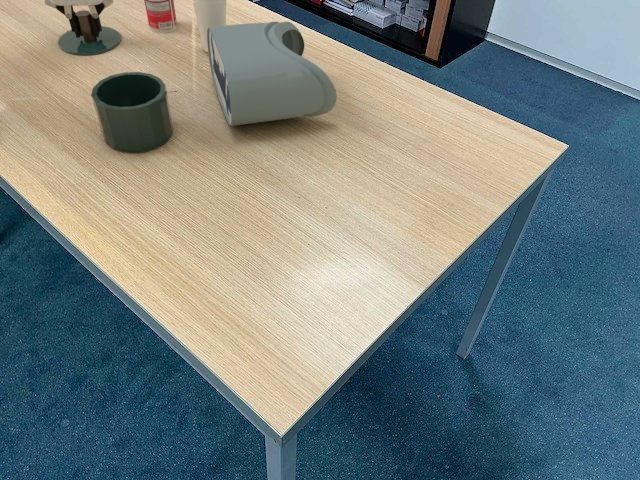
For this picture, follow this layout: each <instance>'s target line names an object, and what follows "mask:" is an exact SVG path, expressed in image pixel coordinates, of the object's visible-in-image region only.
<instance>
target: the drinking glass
mask: <svg viewBox="0 0 640 480" xmlns="http://www.w3.org/2000/svg"><path fill="white" fill-rule="evenodd" d="M192 2H193V8H194V13H195V17H196V23H197V27H198V33H199V38H200V46H201V49H202V50H203V52H205V53H207V54H209V53H208V42H207V29H208V27H215V26H226V25H227V0H192Z"/></svg>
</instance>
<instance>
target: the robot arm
mask: <svg viewBox="0 0 640 480" xmlns="http://www.w3.org/2000/svg"><path fill="white" fill-rule="evenodd" d="M44 4H45V5H46V6H49V7H50V8H53V9H56V10H57V11H58V12H60V13H61V14H62V15H64V16H65V18H66V19H68V22H69V24H70V30H72V32H75V34H76V37H77V38H79V37H80V36H81V34H80V30H79V26H78V23H77V19H76V16H75V13H76V11H75V10H74V9H75V8H74V7H79V6H88V9H89V12H90V13H91V19H90V21H91V24H92V28H93V32H94V36H95V37H99V33H100V31H102V26H103V25H102V23H101V18H100V14H102V12H103V11H104V10H105V9H106V8H108V7H110V6H112V5H113V4H114V0H44Z"/></svg>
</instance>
